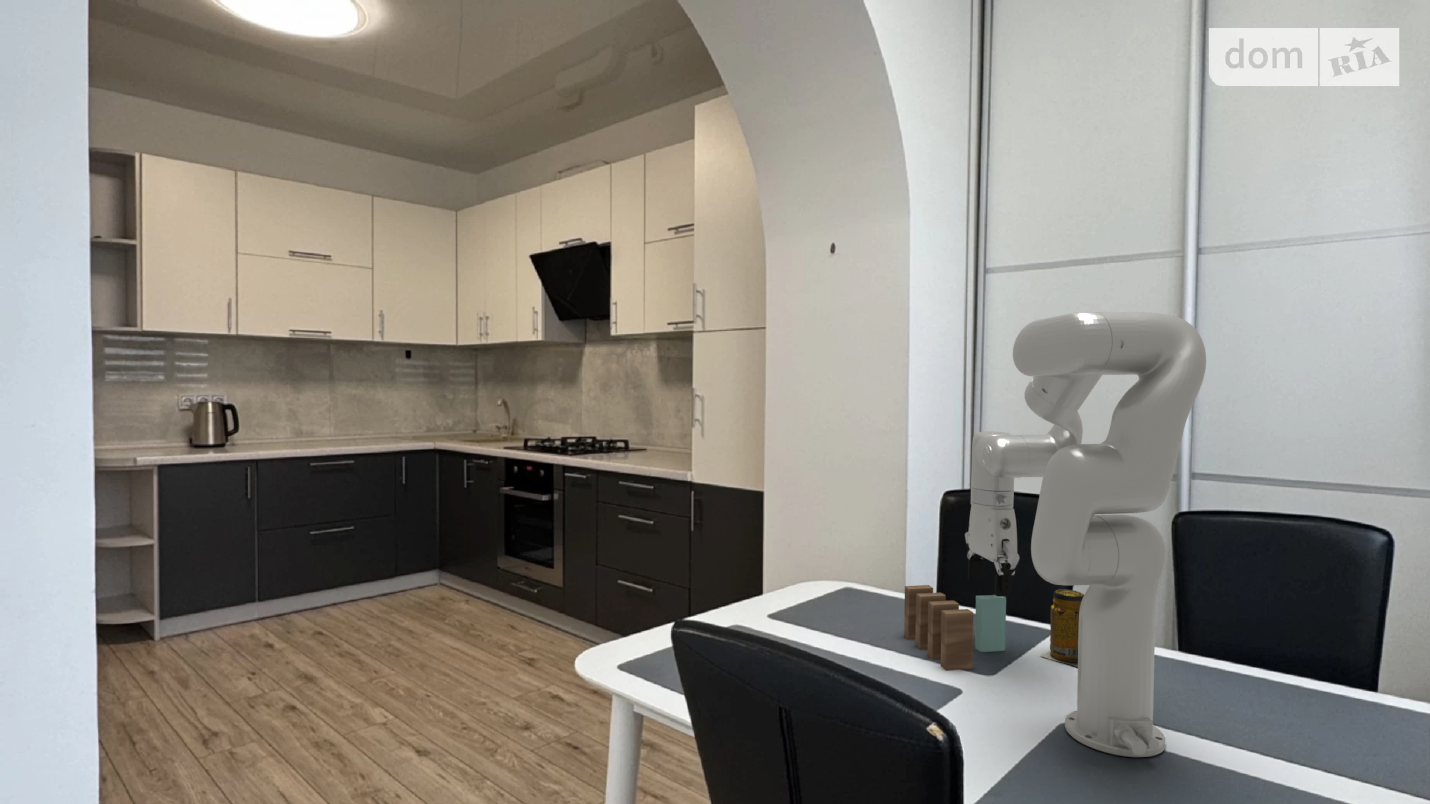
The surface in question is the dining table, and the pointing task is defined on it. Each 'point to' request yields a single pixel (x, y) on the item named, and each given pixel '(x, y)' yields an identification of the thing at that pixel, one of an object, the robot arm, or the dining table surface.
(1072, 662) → the condiment
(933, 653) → the domino
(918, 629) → the domino
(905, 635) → the domino
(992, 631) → the domino
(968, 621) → the domino
